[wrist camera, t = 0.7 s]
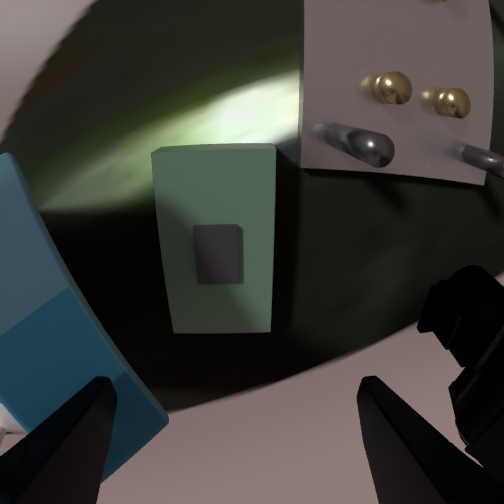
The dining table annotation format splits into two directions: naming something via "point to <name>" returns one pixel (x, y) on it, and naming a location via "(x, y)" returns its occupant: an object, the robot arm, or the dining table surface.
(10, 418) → the champagne flute
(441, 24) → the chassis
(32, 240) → the data package
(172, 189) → the board
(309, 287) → the dining table surface
